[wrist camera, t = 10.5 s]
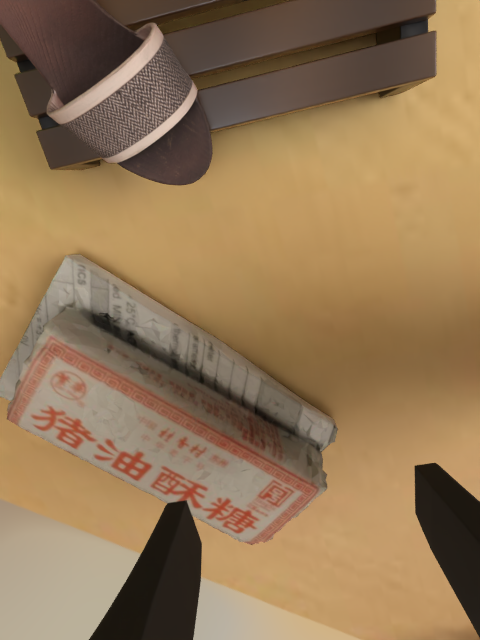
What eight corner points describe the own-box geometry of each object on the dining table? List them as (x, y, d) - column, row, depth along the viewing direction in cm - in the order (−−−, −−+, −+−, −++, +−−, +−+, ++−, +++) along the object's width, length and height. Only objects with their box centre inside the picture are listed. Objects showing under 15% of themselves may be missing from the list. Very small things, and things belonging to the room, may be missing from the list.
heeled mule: (152, 220, 15) (125, 235, 11) (-80, -63, 11) (-224, -169, 8) (238, 149, 14) (238, 141, 10) (11, -185, 10) (-107, -371, 7)
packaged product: (365, 476, 18) (246, 580, 21) (339, 415, 22) (245, 508, 25) (25, 269, 14) (-60, 436, 17) (78, 245, 18) (3, 380, 21)
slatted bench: (394, -125, 13) (436, -206, 10) (401, 93, 16) (437, 76, 13) (14, -16, 14) (-40, -62, 11) (80, 170, 17) (49, 169, 14)
